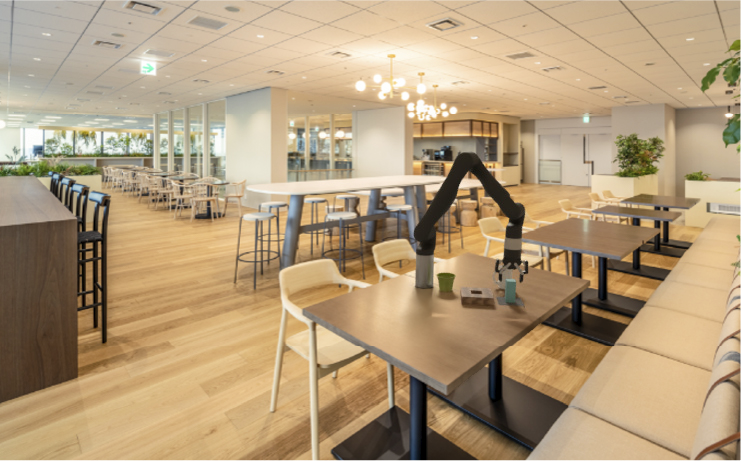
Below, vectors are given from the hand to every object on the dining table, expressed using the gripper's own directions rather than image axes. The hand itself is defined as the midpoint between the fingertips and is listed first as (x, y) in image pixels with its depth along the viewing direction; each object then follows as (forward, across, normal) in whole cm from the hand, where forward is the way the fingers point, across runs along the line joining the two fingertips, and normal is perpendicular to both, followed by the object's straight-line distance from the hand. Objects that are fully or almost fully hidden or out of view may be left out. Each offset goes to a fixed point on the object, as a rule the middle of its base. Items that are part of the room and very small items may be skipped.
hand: (510, 281), depth 182 cm
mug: (+10, -1, +20) cm, 23 cm away
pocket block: (+10, -15, 0) cm, 18 cm away
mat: (+10, 0, 0) cm, 10 cm away
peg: (+9, 0, 0) cm, 9 cm away
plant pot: (+11, -29, +12) cm, 33 cm away
